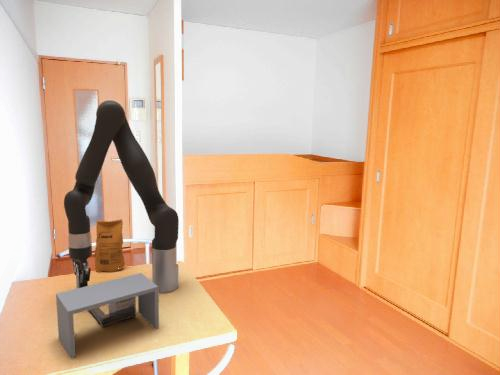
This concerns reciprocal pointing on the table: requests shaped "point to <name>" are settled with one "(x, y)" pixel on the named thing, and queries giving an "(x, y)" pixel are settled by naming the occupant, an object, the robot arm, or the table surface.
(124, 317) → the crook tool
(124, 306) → the medicine box
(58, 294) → the cubby
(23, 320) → the table surface
